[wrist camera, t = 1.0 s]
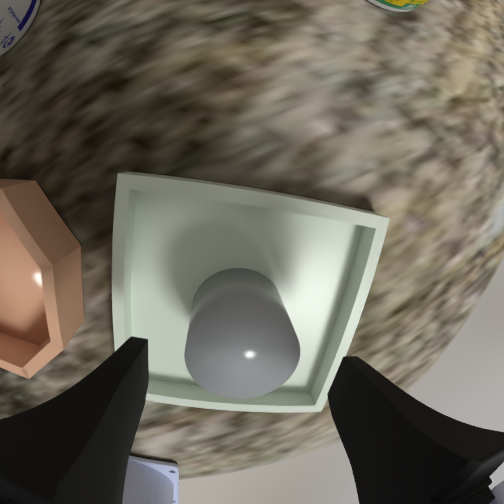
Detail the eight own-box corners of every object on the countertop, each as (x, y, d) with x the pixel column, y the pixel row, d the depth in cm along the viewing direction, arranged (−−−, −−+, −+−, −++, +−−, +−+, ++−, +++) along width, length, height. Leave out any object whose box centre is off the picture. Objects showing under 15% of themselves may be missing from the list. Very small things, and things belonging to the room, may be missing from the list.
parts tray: (315, 395, 18) (321, 411, 16) (125, 378, 16) (119, 394, 14) (374, 212, 14) (389, 218, 13) (128, 171, 12) (117, 173, 11)
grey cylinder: (272, 349, 16) (285, 400, 12) (188, 341, 15) (181, 393, 11) (290, 274, 15) (313, 314, 11) (197, 261, 14) (188, 301, 10)
